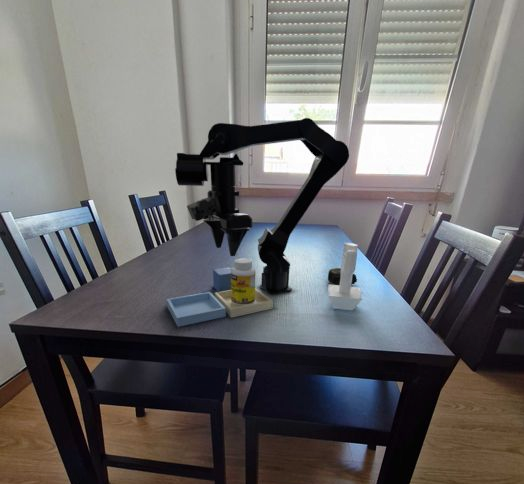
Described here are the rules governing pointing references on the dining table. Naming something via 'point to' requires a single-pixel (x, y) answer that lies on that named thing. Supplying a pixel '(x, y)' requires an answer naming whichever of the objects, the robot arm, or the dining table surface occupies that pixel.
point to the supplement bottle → (242, 282)
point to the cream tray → (235, 310)
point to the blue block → (222, 279)
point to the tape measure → (338, 276)
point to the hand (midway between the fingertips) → (225, 251)
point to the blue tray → (195, 308)
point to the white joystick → (346, 282)
